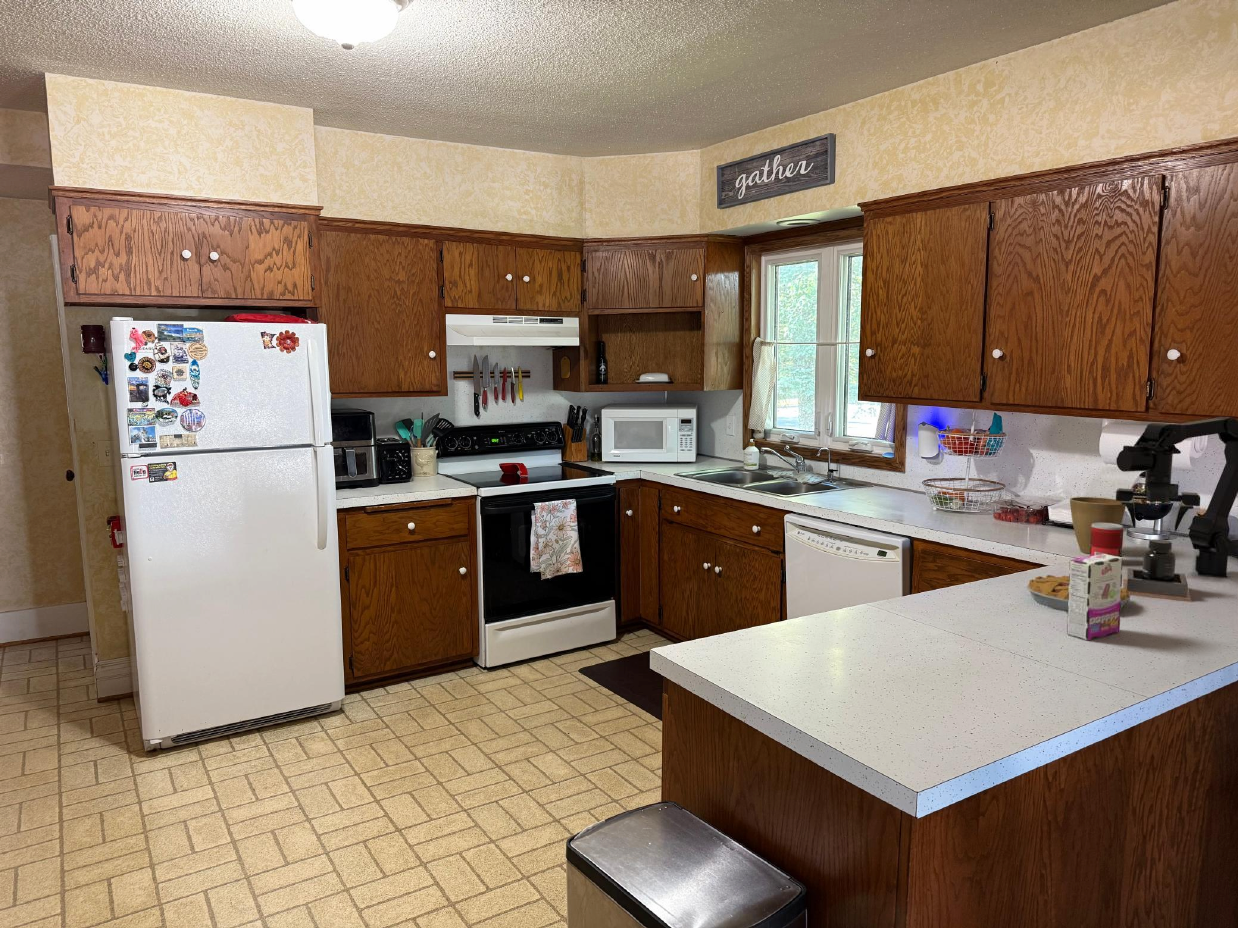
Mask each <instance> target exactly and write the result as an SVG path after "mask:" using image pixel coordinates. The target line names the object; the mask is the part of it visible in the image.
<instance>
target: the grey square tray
mask: <svg viewBox="0 0 1238 928" xmlns="http://www.w3.org/2000/svg"><path fill="white" fill-rule="evenodd" d="M1126 574H1127V575H1126V578H1122V588H1124V589H1127V590H1128V593H1129V594H1130V596H1138V597H1147V598H1155V599H1165V600H1174V601H1184V602H1192V596H1191V593H1190V590H1189V585H1188V581H1187V577H1186V574H1185V573H1178V572H1174V582H1165V581H1155V580H1145V579H1142V569H1139V568H1138V569H1137V568H1128V567H1127V573H1126Z"/></svg>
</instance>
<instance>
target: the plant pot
mask: <svg viewBox="0 0 1238 928" xmlns="http://www.w3.org/2000/svg"><path fill="white" fill-rule="evenodd" d="M1069 506H1070V513H1071V521H1072V526H1073V530H1074V534H1075V537H1076V542H1077V545H1078V548H1079V550H1080V552H1082V553H1086V554H1088V555H1090V540H1091V526H1092V524H1093V523H1113V524H1119V525H1122V523H1123V518H1124V514H1125V512H1126V511H1125V510H1126V509H1127V507H1126V505H1125V504H1121V501H1116V498H1115V499H1114V498H1108V497H1107V498H1106V497H1096V496H1095V497H1093V496H1091V497H1090V496H1075V497H1074V496H1073V497H1070V498H1069Z"/></svg>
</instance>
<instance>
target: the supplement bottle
mask: <svg viewBox="0 0 1238 928" xmlns="http://www.w3.org/2000/svg"><path fill="white" fill-rule="evenodd" d="M1172 544H1173V543H1172V541H1170V540H1166V539H1156V538H1155V539H1154V538H1153V539H1149V541H1148V549H1147V550H1145V552H1144V553H1143V558H1142V569H1141V570H1142V579H1145V580H1155V581H1165V582H1174V573H1176V571H1175V570H1176V555H1175V553H1173V552H1172V550H1173V549H1172V548H1173V547H1172V546H1173V545H1172Z"/></svg>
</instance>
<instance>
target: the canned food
mask: <svg viewBox="0 0 1238 928" xmlns="http://www.w3.org/2000/svg"><path fill="white" fill-rule="evenodd" d="M1123 543H1124V526H1123V525H1122V524H1121V525H1119V524H1113V523H1093V524H1092V526H1091V540H1090V554H1089V556H1093V555H1099V554H1108V555H1113V556H1117V557H1122V558H1123Z"/></svg>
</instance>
